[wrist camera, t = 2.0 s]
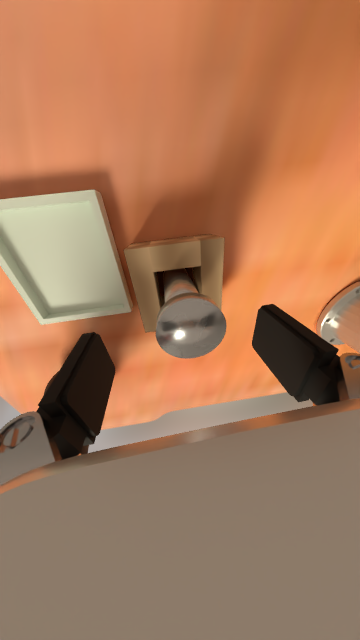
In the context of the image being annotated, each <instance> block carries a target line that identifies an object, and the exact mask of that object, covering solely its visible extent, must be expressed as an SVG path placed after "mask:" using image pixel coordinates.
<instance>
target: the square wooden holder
mask: <svg viewBox="0 0 360 640" xmlns="http://www.w3.org/2000/svg"><path fill="white" fill-rule="evenodd" d="M224 239H225V238H224V237H220V236H216V235H212V234H206V235H197V236H189V237H181V238H173V239H164V240H156V241H148V242H140V243H132V244H130V245H129V246H128V247H127V248H125V249H124V254H125V258H126V262H127V265H128V269H129V273H130V277H131V280H132V284H133V288H134V291H135V295H136V299H137V303H138V306H139V310H140V314H141V318H142V321H143V325H144V329H145V332H146V333H147V332H154V331H156V319H157V315H158V312H159V310H160V309H161V307H162V306H163V305H164V304H165V298H164V296H161V294H160V289H159V283H158V277H157V272H158V271H166V270H174V269H181V268H189V267H193V284H194V286H195V288H196V289H197V291H198V293H200V294H204V295H206V296H208V297H209V298H211V299H212V300H213V301H214V302H215V303H216V304H217V306H218V307H219V309H220V310H221V303H222V282H223V260H224Z"/></svg>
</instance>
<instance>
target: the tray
mask: <svg viewBox="0 0 360 640" xmlns="http://www.w3.org/2000/svg"><path fill="white" fill-rule="evenodd" d="M0 266H1V267H2V269H3V270H4V272H5V273H6V275H7V276H8V278H9V279H10V281H11V282H12V283H13V285H14V286H15V288H16V289H17V291H18V292H19V294H20V295H21V297H22V298H23V299H24V301H25V302H26V304H27V305H28V307H29V308H30V310H31V311H32V313H33V314H34V315H35V317H36V318H37V320H38V321H39V323H40V324H41V325H43V324H50V323H57V322H64V321H71V320H78V319H85V318H93V317H100V316H107V315H114V314H121V313H128V312H131V311H132V308H133V303H132V300H131V296H130V293H129V289H128V286H127V283H126V279H125V276H124V272H123V269H122V265H121V262H120V258H119V255H118V251H117V248H116V244H115V241H114V237H113V234H112V230H111V227H110V223H109V220H108V216H107V213H106V210H105V206H104V203H103V199H102V196H101V193H100V192H98V191H96V190H84V191H75V192H66V193H56V194H47V195H37V196H28V197H18V198H9V199H0Z"/></svg>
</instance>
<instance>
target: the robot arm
mask: <svg viewBox="0 0 360 640" xmlns="http://www.w3.org/2000/svg"><path fill="white" fill-rule="evenodd" d="M317 334H318V335H317ZM317 334H315V333H314V332H313V331H311V330H310V329H308V328H307V327H305V326H304V325H303V324H301V323H300V322H298V321H297V320H295V319H294V318H293V317H291V316H290V315H288V314H287V313H285V312H284V311H283V310H281V309H280V308H278V307H277V306H275V305H274V304H269V305H263V306H262V307H261V308H260V309H259V310H258V314H257V319H256V325H255V330H254V335H253V340H252V346H253V348H254V350H255V351H256V352H257V354H258V355H259V356H260V357H261V359H262V360H263V361H264V362H265V364H266V365H267V366H268V368H269V369H270V370H271V371H272V373H273V374H274V375H275V377H276V378H277V379H278V380H279V382H280V383H281V384H282V386H283V387H284V388H285V389H286V391H287V392H288V393H289V394H290V395H291V396H294V397H295V399H296V400H297V401H298V402H302V401H306V400H309V398H310V400H311V401H312V402H313V406H312V407H307V408H302V409H297V410H292V411H287V412H282V413H277V414H273V415H267V416H262V417H257V418H252V419H247V420H242V421H238V422H233V423H228V424H224V425H219V426H213V427H209V428H204V429H199V430H194V431H189V432H185V433H179V434H175V435H170V436H166V437H161V438H156V439H151V440H147V441H142V442H137V443H133V444H128V445H123V446H118V447H114V448H109V449H105V450H101V451H96V452H92V453H88V454H83V455H81V454H80V453H81V450H82V447H83V446H86V445H90V444H94V442H95V438H96V436H97V435H99V433H100V430H101V426H102V422H103V418H104V414H105V410H106V406H107V403H108V399H109V395H110V391H111V387H112V383H113V379H114V375H115V366H114V364H113V362H112V360H111V358H110V356H109V354H108V352H107V349H106V347H105V345H104V343H103V341H102V339H101V337H100V335H99V334H96V333H94V332H93V333H86V334H83V335H82V336H81V337H80V339H79V340H78V342H77V344H76V345H75V347H74V348H73V350H72V352H71V353H70V355H69V356H68V358H67V360H66V361H65V363H64V364H63V366H62V368H61V369H60V371H59V372H58V374H57V376H56V377H55V379H54V380H53V382H52V383H51V385H50V387H49V388H48V390H47V391H46V393H45V395H44V396H43V398H42V399H41V401H40V403H39V404H38V406H39V408H38V410H37V412H34V411H33V412H27V413H24V414H21V415H19V416H18V417H16V418H14V419H13V420H11V421H10V422H8V423H7V424H6V425H5V426H4V427H3V428H2V429H1V430H0V640H360V354H357V353H344V354H342V355H341V356H340V357H339V356H338V355H336V354H337V352H338V349H337V348H336V347H334V346H333V345H340V344H347V345H348V346H350V347H351V348H353V349H354V350H356V351H357V352H359V353H360V281H359V282H356V283H354V284H352V285H351V286H349V287H347V288H346V289H344V290H343V291H342V292H340V293H339V294H338V295H337V296H336V297H334V298H333V299H332V300H331V301H330V302H329V304H328V305H327V306H326V307H325V309H324V310H323V311H322V313H321V315H320V317H319V319H318V322H317ZM331 344H333V345H331Z"/></svg>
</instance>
